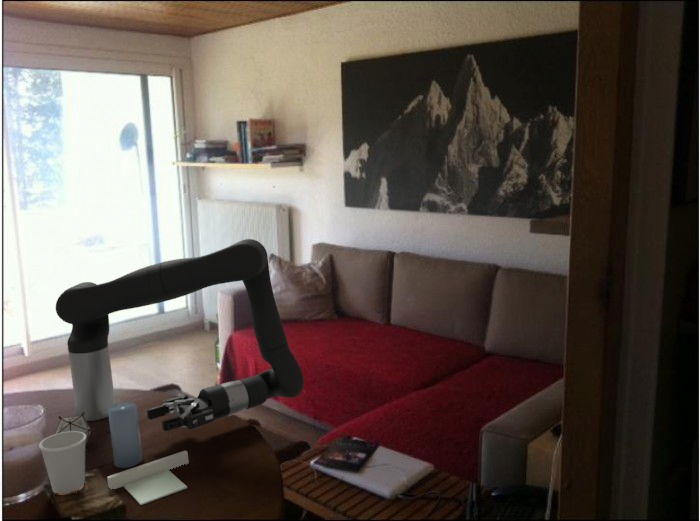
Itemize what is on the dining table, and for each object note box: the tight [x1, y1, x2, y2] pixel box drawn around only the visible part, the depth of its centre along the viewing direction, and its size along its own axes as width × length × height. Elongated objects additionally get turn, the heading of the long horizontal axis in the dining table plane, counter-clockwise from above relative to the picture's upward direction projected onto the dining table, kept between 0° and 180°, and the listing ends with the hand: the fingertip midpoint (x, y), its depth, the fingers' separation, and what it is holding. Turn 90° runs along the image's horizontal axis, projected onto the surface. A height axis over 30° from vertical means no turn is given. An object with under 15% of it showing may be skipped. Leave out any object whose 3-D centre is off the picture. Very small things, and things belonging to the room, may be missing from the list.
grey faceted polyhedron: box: [54, 412, 95, 452], centre depth 142 cm, size 9×8×10 cm
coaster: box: [123, 470, 188, 506], centre depth 124 cm, size 9×9×1 cm
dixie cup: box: [38, 431, 86, 494], centre depth 125 cm, size 8×8×10 cm
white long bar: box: [106, 450, 190, 490], centre depth 129 cm, size 1×16×2 cm, turn 128°
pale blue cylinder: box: [108, 401, 144, 469], centre depth 135 cm, size 6×6×12 cm
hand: (155, 420), depth 139 cm, fingers open, 8 cm apart
